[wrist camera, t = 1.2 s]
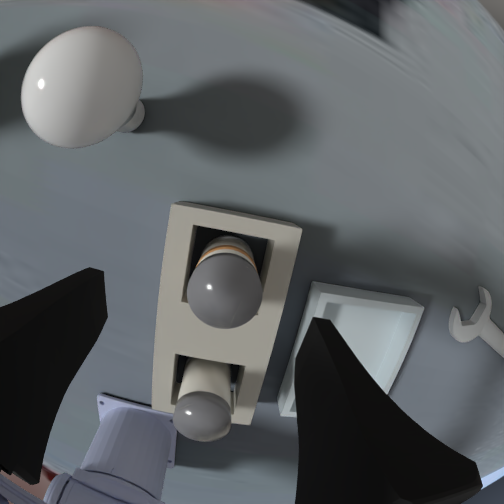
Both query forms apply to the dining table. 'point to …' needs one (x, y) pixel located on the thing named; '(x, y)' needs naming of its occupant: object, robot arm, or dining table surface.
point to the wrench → (478, 324)
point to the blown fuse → (225, 284)
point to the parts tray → (358, 332)
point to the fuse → (204, 400)
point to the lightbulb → (83, 88)
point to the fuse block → (207, 337)
